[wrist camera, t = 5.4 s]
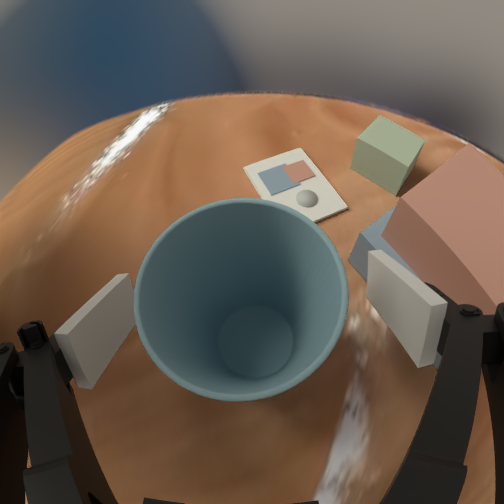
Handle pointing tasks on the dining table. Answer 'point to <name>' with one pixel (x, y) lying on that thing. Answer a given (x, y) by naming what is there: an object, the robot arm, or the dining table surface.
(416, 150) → the brick
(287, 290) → the cup
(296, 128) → the dining table surface
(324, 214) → the page
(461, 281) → the brick tower
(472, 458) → the dining table surface
